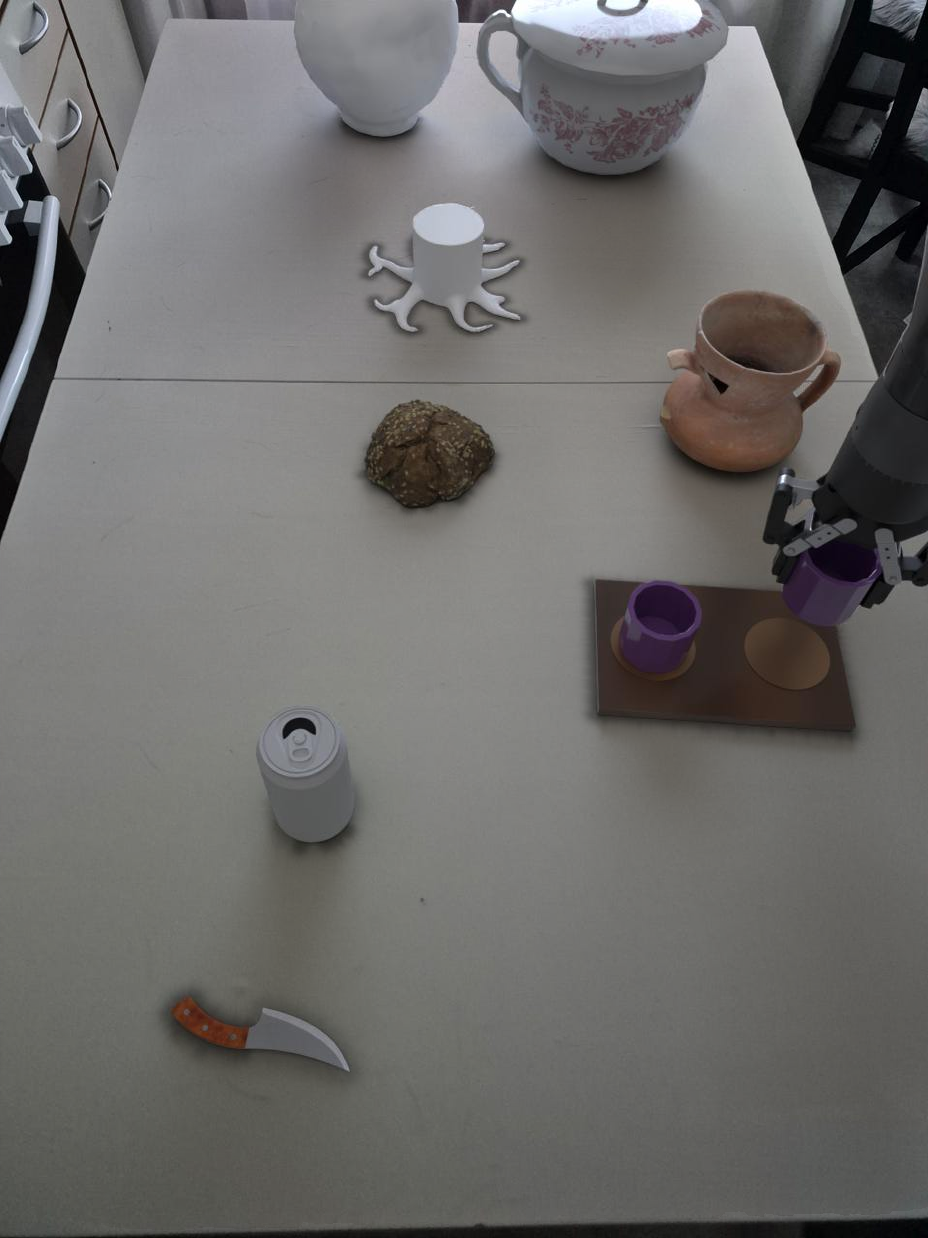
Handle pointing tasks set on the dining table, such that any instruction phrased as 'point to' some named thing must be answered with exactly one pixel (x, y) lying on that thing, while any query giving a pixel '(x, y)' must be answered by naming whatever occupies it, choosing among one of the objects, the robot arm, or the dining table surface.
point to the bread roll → (427, 453)
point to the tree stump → (446, 265)
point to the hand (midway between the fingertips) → (823, 587)
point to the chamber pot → (607, 75)
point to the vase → (377, 57)
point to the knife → (262, 1033)
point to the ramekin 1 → (659, 626)
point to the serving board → (728, 664)
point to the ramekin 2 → (831, 582)
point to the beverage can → (306, 772)
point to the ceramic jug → (747, 380)
